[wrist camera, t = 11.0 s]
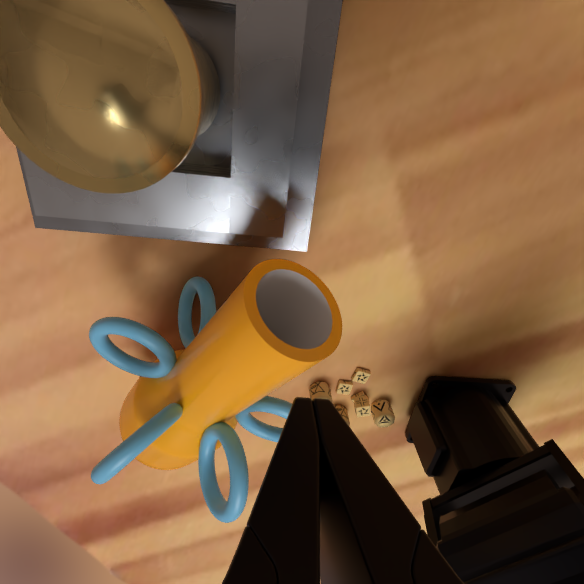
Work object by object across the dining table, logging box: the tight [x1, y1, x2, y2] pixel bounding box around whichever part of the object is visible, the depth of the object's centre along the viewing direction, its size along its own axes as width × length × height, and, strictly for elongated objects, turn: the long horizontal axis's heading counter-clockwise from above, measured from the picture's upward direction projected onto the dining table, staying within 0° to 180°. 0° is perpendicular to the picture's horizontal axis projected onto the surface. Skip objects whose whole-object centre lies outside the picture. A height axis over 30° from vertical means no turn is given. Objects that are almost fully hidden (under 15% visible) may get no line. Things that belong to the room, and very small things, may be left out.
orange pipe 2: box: [89, 259, 342, 523], centre depth 18 cm, size 12×10×15 cm
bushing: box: [0, 0, 220, 193], centre depth 12 cm, size 5×5×8 cm
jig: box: [16, 0, 343, 252], centre depth 15 cm, size 14×14×3 cm
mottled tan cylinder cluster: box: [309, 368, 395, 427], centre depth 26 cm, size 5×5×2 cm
